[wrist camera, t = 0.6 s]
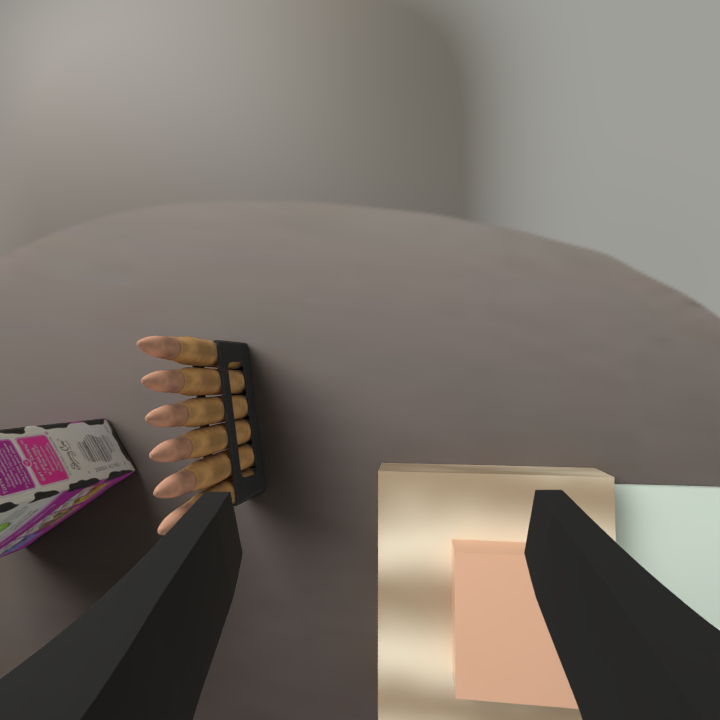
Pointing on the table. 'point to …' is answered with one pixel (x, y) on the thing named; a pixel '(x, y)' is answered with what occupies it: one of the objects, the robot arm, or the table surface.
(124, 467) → the candy bar box
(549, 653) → the peach flat block
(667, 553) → the mat
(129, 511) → the table surface
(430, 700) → the riser
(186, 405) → the ammunition clip
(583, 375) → the table surface
